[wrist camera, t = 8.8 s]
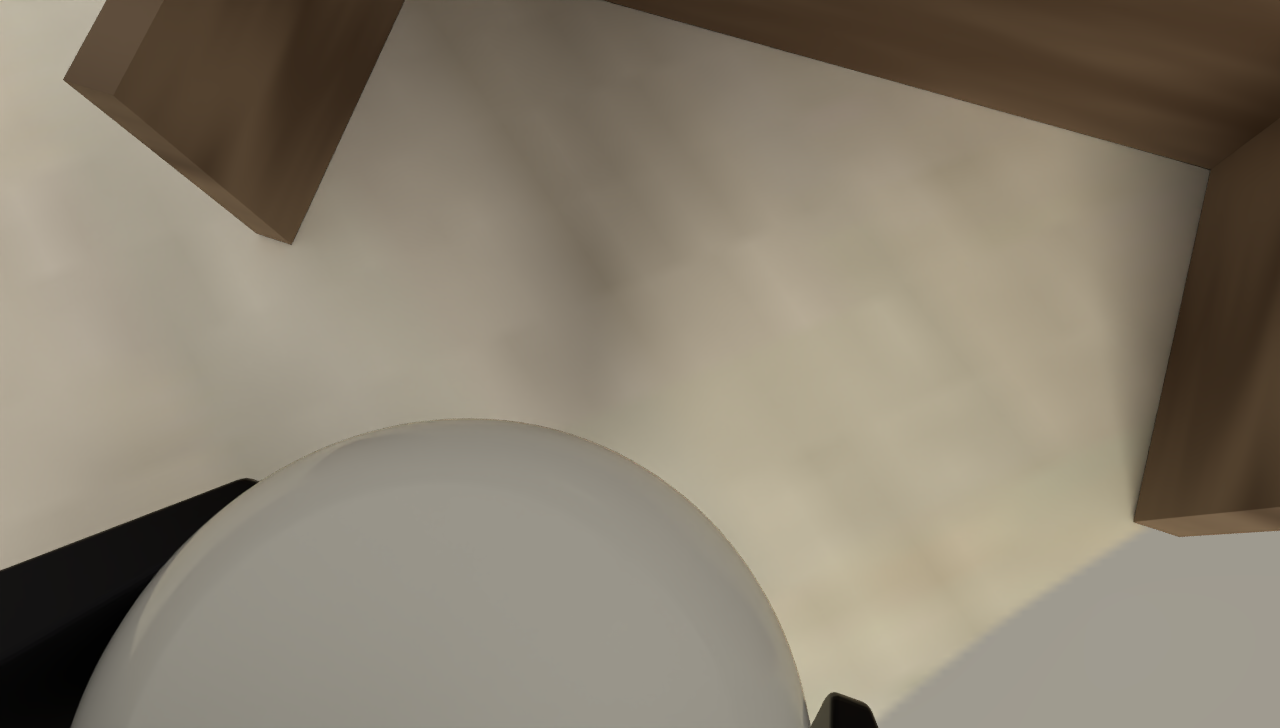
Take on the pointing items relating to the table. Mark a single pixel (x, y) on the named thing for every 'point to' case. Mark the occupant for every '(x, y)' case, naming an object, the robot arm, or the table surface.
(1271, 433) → the open box
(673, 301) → the table surface
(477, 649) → the lightbulb
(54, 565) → the robot arm
